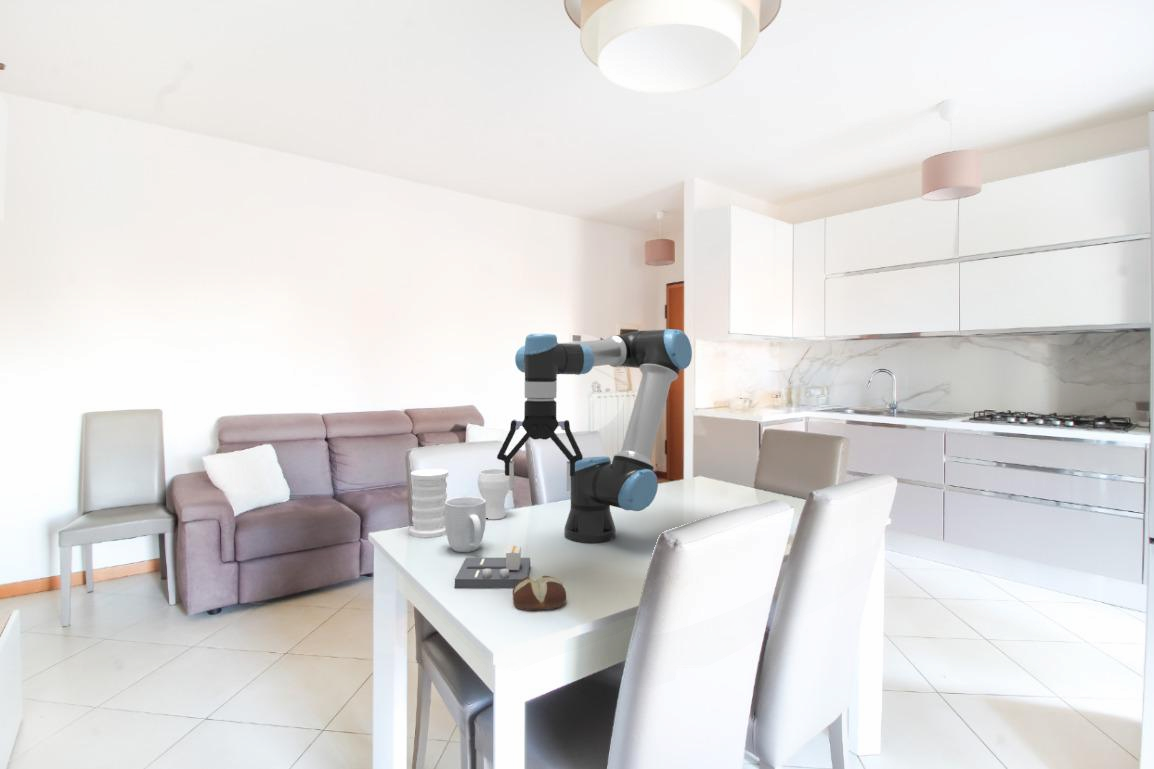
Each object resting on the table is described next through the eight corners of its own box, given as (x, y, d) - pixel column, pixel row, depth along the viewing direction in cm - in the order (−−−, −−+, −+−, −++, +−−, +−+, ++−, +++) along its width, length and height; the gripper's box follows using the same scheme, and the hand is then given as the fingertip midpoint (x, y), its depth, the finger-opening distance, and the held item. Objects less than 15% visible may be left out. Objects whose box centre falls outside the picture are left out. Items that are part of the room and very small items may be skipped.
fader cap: (520, 562, 133) (520, 545, 133) (518, 570, 128) (519, 552, 128) (508, 562, 133) (508, 545, 133) (506, 570, 128) (506, 552, 128)
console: (530, 565, 138) (530, 551, 138) (526, 588, 124) (526, 572, 124) (466, 565, 138) (466, 551, 138) (454, 587, 124) (454, 572, 124)
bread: (567, 611, 113) (567, 587, 113) (511, 613, 112) (511, 589, 112) (564, 589, 124) (564, 567, 124) (513, 591, 123) (513, 568, 123)
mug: (498, 554, 146) (498, 505, 145) (458, 562, 140) (458, 511, 139) (476, 539, 158) (476, 494, 158) (438, 546, 152) (438, 499, 152)
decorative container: (418, 540, 157) (418, 477, 157) (403, 530, 166) (403, 471, 166) (456, 532, 164) (456, 472, 164) (439, 524, 174) (439, 467, 173)
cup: (473, 520, 178) (473, 473, 178) (483, 511, 189) (484, 468, 188) (504, 521, 177) (504, 475, 176) (513, 513, 187) (514, 469, 187)
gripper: (592, 399, 134) (591, 486, 134) (490, 398, 134) (489, 485, 134) (593, 401, 126) (592, 493, 127) (485, 400, 126) (484, 492, 127)
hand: (539, 489), depth 131 cm, fingers open, 13 cm apart
